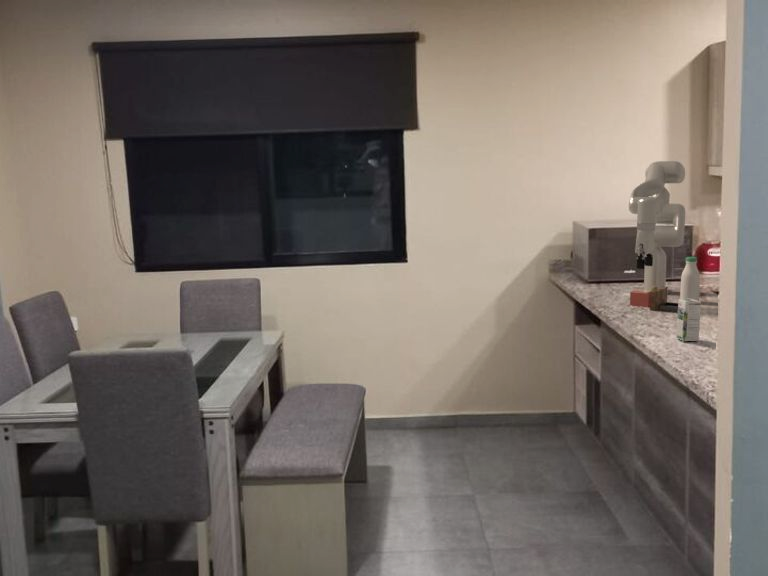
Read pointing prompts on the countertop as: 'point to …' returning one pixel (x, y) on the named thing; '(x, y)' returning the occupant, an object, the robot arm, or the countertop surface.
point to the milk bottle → (690, 280)
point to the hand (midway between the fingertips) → (644, 267)
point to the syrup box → (688, 320)
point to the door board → (657, 297)
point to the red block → (640, 298)
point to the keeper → (669, 306)
